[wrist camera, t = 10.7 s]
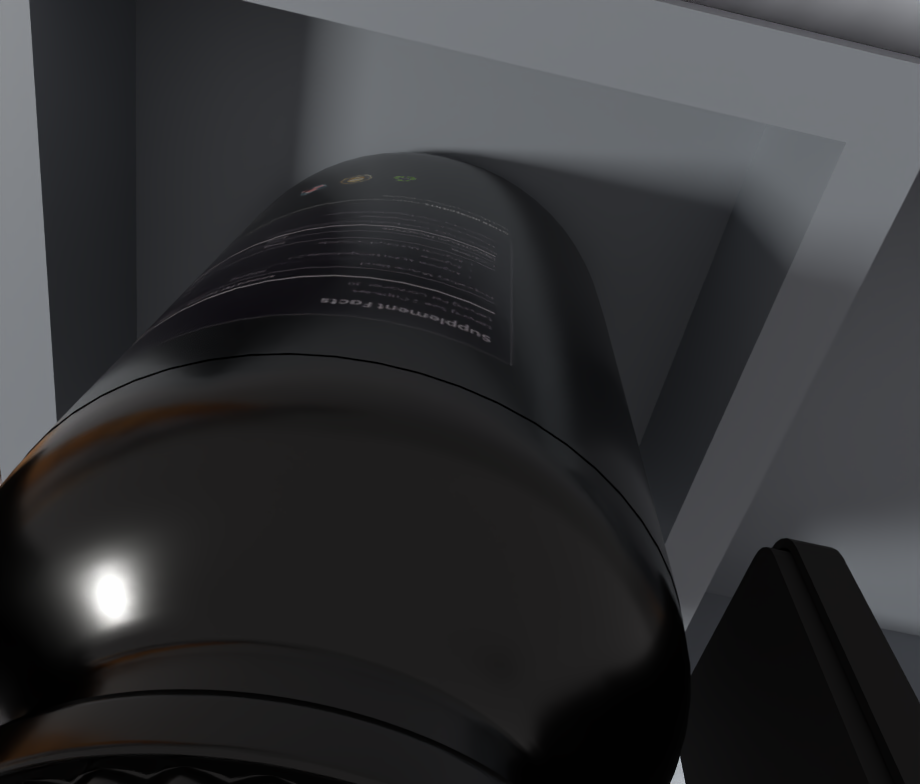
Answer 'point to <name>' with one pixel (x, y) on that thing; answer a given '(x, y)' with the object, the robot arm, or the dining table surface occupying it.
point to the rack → (555, 188)
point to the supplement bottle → (350, 517)
